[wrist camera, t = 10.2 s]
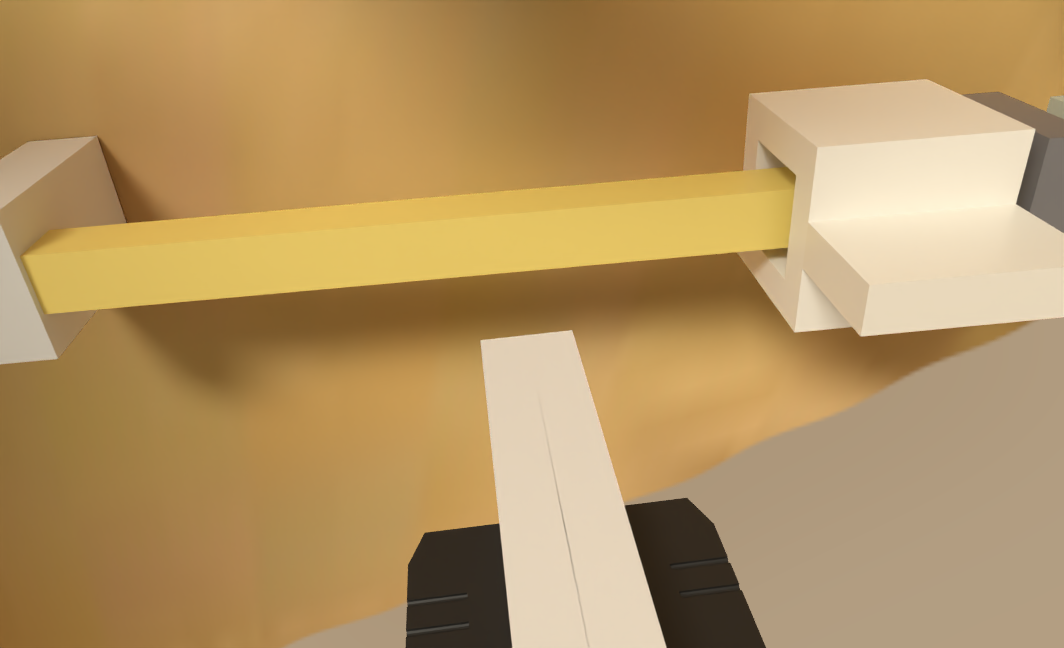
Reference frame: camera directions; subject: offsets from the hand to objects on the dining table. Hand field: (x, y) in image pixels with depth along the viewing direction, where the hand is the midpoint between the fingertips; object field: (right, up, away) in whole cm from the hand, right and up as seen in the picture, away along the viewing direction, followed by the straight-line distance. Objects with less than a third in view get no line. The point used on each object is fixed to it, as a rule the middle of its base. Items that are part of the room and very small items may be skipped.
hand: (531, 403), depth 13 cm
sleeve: (+9, +6, +10) cm, 14 cm away
